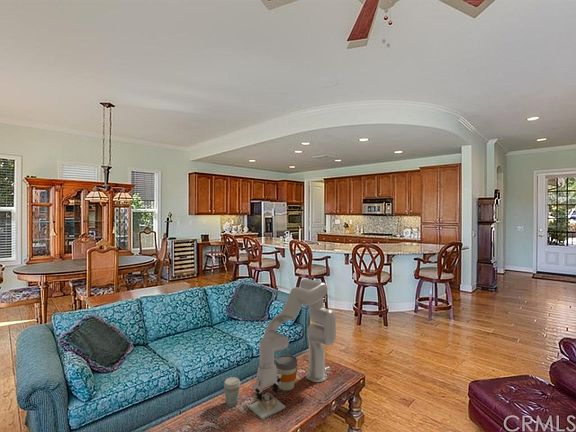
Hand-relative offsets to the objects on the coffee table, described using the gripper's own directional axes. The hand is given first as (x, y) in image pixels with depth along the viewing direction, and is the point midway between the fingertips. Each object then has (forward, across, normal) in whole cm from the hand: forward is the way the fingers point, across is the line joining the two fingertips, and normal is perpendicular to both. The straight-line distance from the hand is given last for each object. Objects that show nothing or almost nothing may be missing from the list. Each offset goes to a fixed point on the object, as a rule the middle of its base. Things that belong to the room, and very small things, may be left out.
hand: (267, 395), depth 163 cm
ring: (+5, 0, 0) cm, 5 cm away
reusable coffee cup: (+7, -19, -9) cm, 22 cm away
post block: (+6, +1, 0) cm, 6 cm away
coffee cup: (+6, +13, -14) cm, 20 cm away
